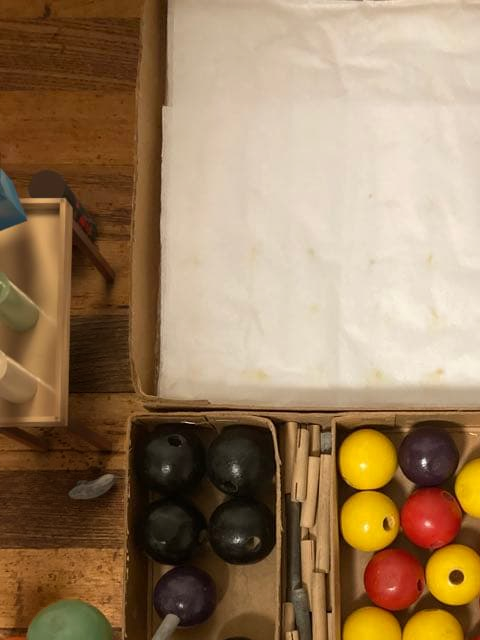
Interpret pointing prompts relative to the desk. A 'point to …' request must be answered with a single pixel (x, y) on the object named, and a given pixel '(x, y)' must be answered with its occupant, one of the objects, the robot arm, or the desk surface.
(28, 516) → the desk surface
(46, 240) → the tray stand
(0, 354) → the cream bottle
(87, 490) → the fossil
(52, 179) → the deodorant
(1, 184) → the perfume bottle
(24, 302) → the sage bottle
